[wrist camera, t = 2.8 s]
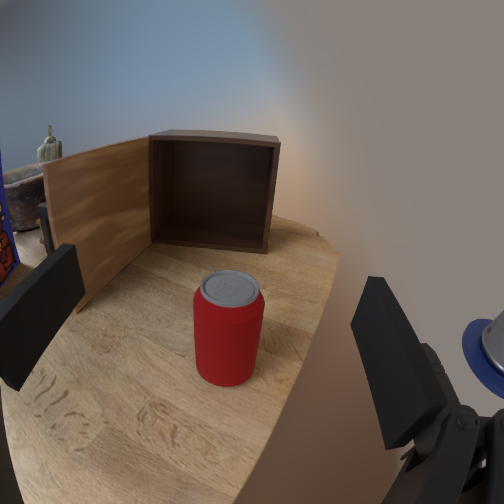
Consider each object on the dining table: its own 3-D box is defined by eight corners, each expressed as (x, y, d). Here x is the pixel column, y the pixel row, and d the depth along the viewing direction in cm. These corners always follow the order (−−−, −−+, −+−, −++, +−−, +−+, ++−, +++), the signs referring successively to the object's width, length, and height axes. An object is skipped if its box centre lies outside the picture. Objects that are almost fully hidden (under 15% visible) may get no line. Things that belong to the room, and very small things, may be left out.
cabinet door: (50, 301, 36) (20, 164, 26) (127, 238, 57) (122, 136, 47) (76, 313, 35) (46, 163, 25) (151, 243, 56) (149, 136, 46)
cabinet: (266, 254, 57) (280, 142, 47) (150, 242, 57) (148, 135, 46) (265, 226, 69) (276, 136, 59) (169, 217, 69) (171, 129, 59)
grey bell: (60, 189, 87) (57, 124, 75) (40, 193, 82) (35, 128, 70) (63, 180, 97) (61, 122, 85) (45, 184, 93) (41, 126, 81)
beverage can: (261, 357, 33) (275, 276, 28) (241, 399, 28) (252, 318, 22) (211, 340, 35) (212, 259, 29) (185, 377, 29) (178, 294, 24)
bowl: (5, 214, 64) (-2, 169, 57) (74, 200, 76) (70, 154, 69) (-20, 252, 44) (-33, 194, 37) (68, 233, 57) (60, 171, 49)
